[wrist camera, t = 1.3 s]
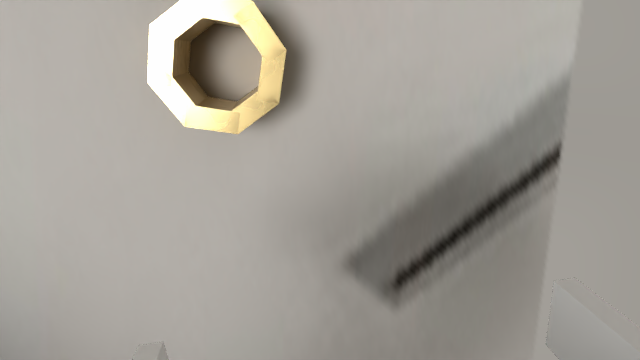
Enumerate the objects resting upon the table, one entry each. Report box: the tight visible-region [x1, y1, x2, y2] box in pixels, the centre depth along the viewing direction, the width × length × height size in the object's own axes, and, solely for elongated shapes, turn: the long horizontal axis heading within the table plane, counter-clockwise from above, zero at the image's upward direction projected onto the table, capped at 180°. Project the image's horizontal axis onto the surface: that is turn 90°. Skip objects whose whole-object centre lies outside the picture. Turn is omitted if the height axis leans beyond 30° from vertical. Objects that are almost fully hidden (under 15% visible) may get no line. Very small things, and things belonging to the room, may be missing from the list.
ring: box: [147, 0, 286, 134], centre depth 26 cm, size 8×8×5 cm
